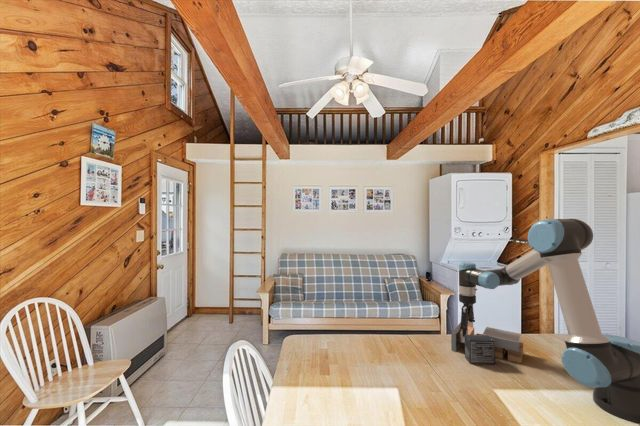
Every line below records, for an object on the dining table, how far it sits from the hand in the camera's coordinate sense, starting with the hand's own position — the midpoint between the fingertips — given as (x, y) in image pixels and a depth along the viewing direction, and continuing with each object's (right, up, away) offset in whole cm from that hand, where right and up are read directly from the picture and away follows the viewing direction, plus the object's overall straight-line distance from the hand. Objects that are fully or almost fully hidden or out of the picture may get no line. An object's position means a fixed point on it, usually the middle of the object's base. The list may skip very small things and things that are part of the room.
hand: (467, 338), depth 149 cm
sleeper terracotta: (0, 0, 0) cm, 0 cm away
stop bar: (-3, -3, +2) cm, 5 cm away
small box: (-2, -4, -15) cm, 16 cm away
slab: (+11, +2, -9) cm, 15 cm away
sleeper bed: (+10, -3, -8) cm, 13 cm away
